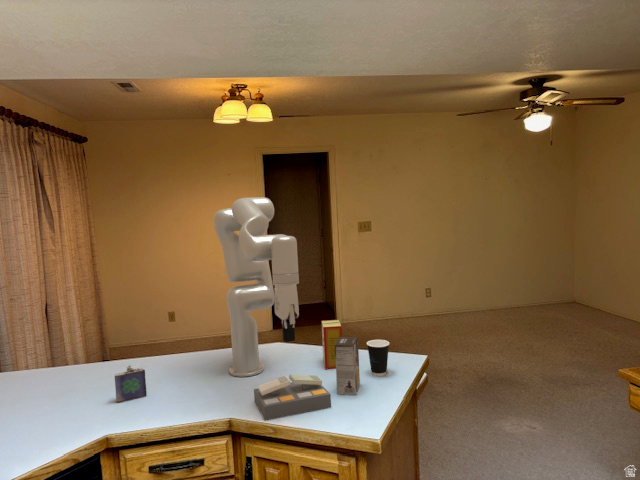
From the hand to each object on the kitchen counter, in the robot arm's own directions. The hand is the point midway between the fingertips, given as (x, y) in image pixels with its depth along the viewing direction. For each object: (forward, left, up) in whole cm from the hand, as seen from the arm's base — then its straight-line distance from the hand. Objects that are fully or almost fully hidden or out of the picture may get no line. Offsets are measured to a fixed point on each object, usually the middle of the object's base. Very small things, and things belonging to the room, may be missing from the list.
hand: (289, 340), depth 138 cm
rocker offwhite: (-4, -4, -14) cm, 15 cm away
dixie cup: (-14, +36, -21) cm, 44 cm away
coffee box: (-6, +21, -21) cm, 30 cm away
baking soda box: (-30, +25, -21) cm, 44 cm away
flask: (-30, -45, -21) cm, 58 cm away
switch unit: (-3, +1, -21) cm, 21 cm away
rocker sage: (-4, +6, -14) cm, 16 cm away
